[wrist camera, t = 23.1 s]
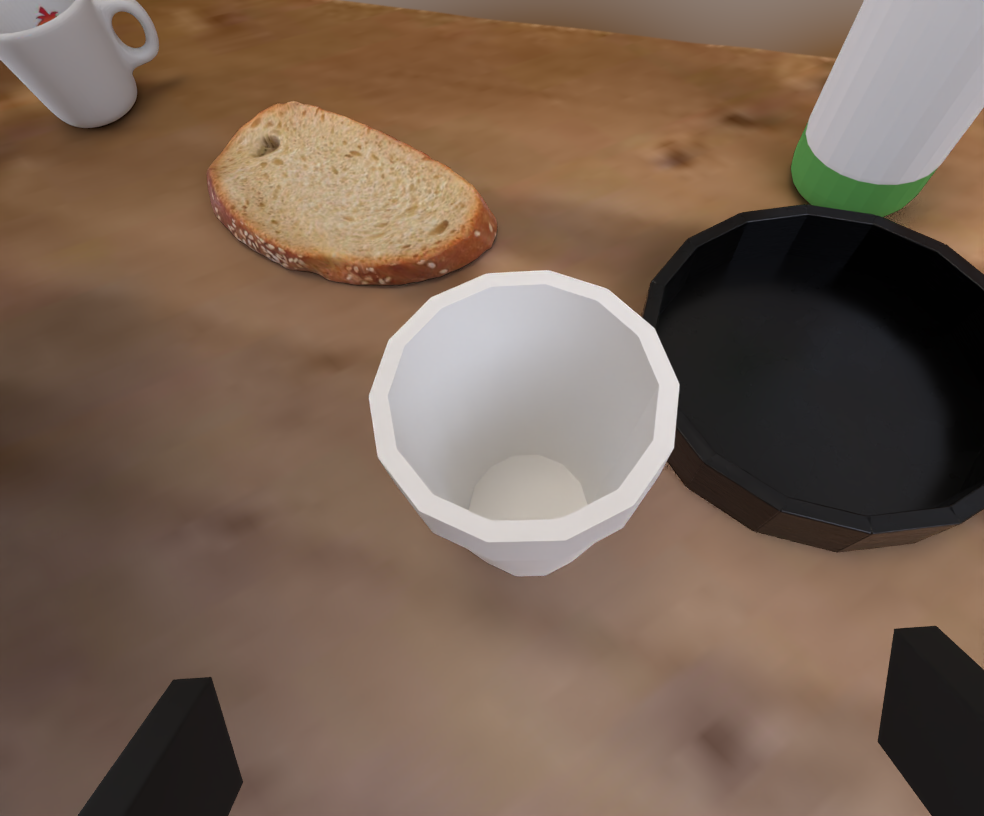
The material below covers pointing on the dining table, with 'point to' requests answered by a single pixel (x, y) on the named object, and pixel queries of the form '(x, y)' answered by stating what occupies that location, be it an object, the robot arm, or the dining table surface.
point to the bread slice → (345, 200)
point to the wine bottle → (893, 104)
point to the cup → (75, 56)
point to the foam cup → (525, 416)
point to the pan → (826, 376)
